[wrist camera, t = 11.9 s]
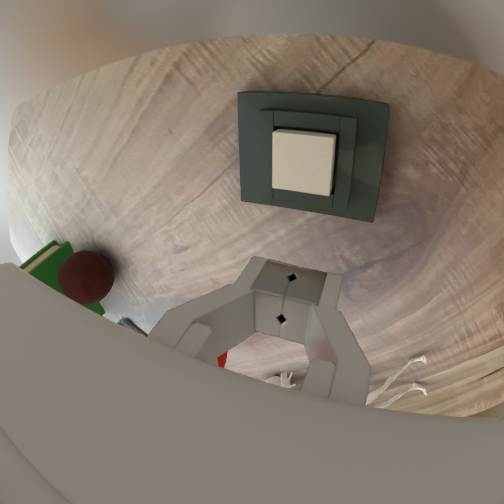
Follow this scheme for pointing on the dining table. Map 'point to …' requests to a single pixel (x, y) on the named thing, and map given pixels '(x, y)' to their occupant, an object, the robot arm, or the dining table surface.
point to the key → (303, 161)
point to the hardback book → (53, 268)
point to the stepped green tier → (322, 121)
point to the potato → (85, 277)
